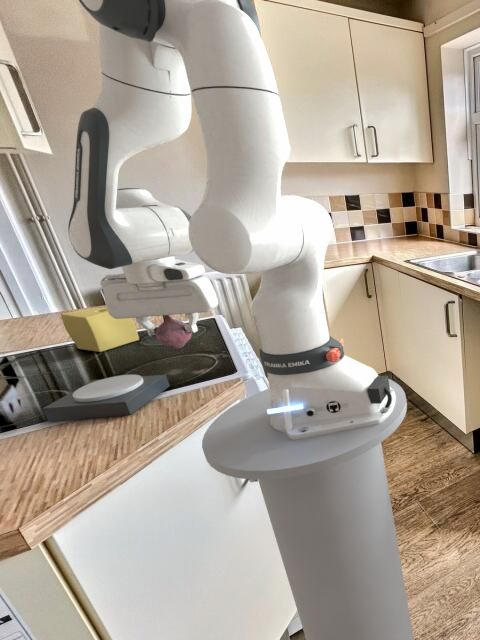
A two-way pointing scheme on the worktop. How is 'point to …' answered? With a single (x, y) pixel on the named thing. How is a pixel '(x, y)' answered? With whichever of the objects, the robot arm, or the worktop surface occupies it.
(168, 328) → the vegetable
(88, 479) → the worktop surface
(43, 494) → the worktop surface
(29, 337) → the worktop surface
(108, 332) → the cheese
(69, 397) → the scale
